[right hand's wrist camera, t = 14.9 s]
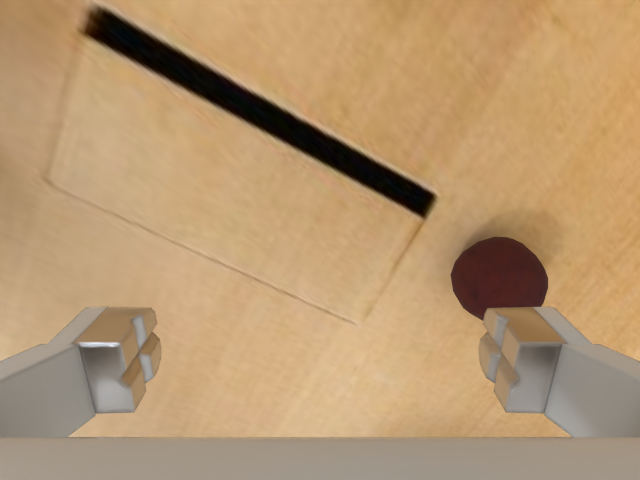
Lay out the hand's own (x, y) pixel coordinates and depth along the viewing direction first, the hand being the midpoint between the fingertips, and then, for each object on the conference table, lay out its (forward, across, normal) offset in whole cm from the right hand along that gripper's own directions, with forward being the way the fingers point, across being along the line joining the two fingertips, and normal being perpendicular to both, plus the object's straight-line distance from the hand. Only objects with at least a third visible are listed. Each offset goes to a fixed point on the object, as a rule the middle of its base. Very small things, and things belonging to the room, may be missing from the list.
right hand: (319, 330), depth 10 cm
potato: (+27, +16, -10) cm, 33 cm away
